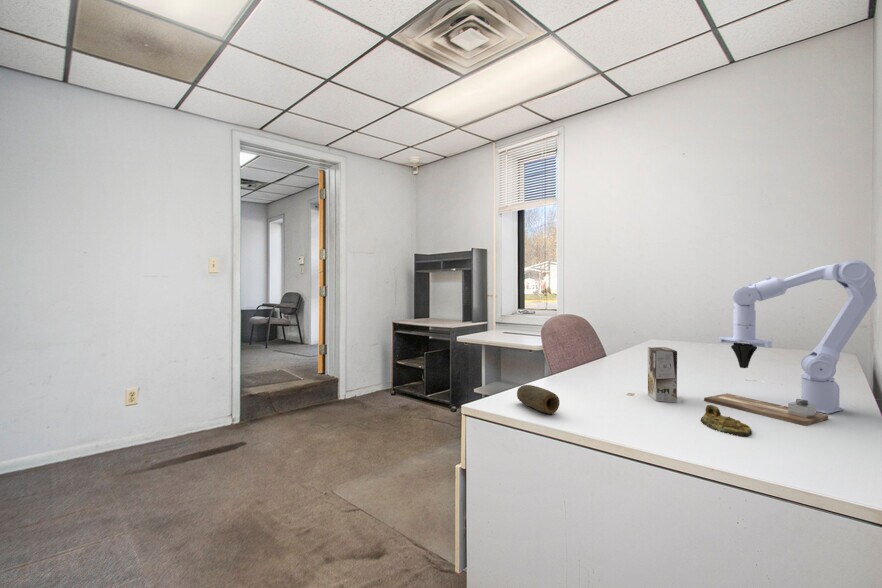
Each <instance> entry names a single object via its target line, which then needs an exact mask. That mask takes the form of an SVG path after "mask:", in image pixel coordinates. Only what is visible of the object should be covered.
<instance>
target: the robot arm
mask: <svg viewBox="0 0 882 588" xmlns="http://www.w3.org/2000/svg"><path fill="white" fill-rule="evenodd" d="M818 280H821V281H822V280H824V281H836V282H837V283H839V284H840V285H841V286H842V287H843V288H844V290H845V292H846V293H847V295H848V298H847V300H846V302H844V304H843V306H842V307H841V308H840V311H839V312H838V314H837V315H836V317H835V319H834V320H833V322H832V323H831V325H830V326H829V328H828V329H827V331H826V333H825V334H824V335H823V337H822V339H821V340H820V342H819V344H818V345H816V346H815V347H814V348H813V350H812V351H811V352H810V353H809V354H807V355H805V356H804V357H803V358H801V361H800V362H801V363H800V365H801V369H803V371H804V372H803V374H801V375H800V376H801V379H800V380H801V382H800V384H801V385H800V386H801V387H800V389H801V390H800V399H803V400H807V401H808V403H810V404H815V405H816V413H820V414H825V415H828V414H829V415H830V414H832V413H837V412H839V411H844V408H843V407H841V406H840V386H839V384H838V383H837V381H836V379H835V378H834V376H835V375H836V372H837V367H836V366H837V364H838V362H839V359H840V355H841V353H842V351H843V350H844V348H845V346H846V345H847V343H848V342H849V341H850V338H851V337H852V336H853V334H854V332H855V331H856V330H857V328H858V326H859V325H860V323H861V322H862V320H863V319H864V317H865V316H866V314H867V313H868V311H869V310H870V309H871V307H872V305H873V303H874V302H875V300H876V299H877V296H878V295H877V294H878V293H877V288H876V285H875V284H876V282H875V272H874V271H873V269H872V268H871V267H870V266H869V264H868V263H866V262H864V261H862V260H858V259H855V260H854V259H853V260H852V259H851V260H849V261H841V262H839V263H834V264H833V263H832V264H829V265H823V266H822V265H821V266H818V267H815V268H811V269H809V270H806V271H804V272H800V273H797V274H795V275H791V276H789V277H785V278H780V277H779V276H778V277H777V276H773V277H771V276H768V277H765V279H764V280H761V281H759V282H756V283H751V282H750V283H748V284H747V286H741V287H739V288H737V289H736V290H734V292H733V294H732V300H733V302H734V303H733V310H732V311H733V312H732V313H733V314H732V323H733V324H732V336H723V335H722V336H718V343H726V344H732V345H731V346H730V347H731V350H732V351H733V353H734V354H735V357H736V358H737V361H738V365H739V368H741V369H748V368H749V365H750V361H751V359H752V356H753V355H754V354H755V352H756V350H757V349H758V348H767V349H770V348H772V349H773V341H770V340H766V339H765V340H764V339H757V338H756V309H755V306H756V305H755V303H756V302H757V301H758V302H762V301H766V300H770V299H772V298H773V299H774V298H776V297H780V296H782V295H785V293H786V292H787V290H788V289H790V288H794V287H797V286H801V285H805V284H808V283H813V282H816V281H818Z"/></svg>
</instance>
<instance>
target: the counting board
mask: <svg viewBox="0 0 882 588" xmlns="http://www.w3.org/2000/svg"><path fill="white" fill-rule="evenodd" d="M703 401H704V402H708V403H711V404H716V405H720V406H724V407H728V408H731V409H736V410H740V411H743V412H748V413H752V414H756V415H761V416H764V417H768V418H773V419H777V420H781V421H784V422H789V423H792V424H796V425H801V426H809V425H813V424H816V423H820V422H823V421H826V420H827V421H828V419H829V415H828V414H824V413H820V412H816V416H813V417H809V418H803V417H799V416H794V415H790V414H788V405H787V406H786V405H783V404H777V403H772V402H768V401H763V400H759V399H754V398H749V397H745V396H740V395H736V394H732V393H722V394H717V395H716V394H715V395H711V396H705V397H703Z"/></svg>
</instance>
